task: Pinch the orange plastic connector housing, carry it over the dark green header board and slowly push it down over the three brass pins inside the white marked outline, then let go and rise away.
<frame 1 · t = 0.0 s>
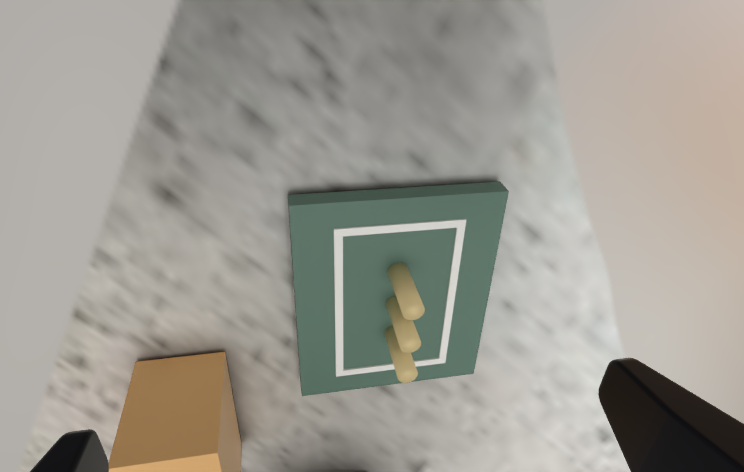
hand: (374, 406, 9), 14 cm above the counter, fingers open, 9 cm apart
header board: (391, 290, 27), on the counter
connector housing: (193, 407, 28), on the counter
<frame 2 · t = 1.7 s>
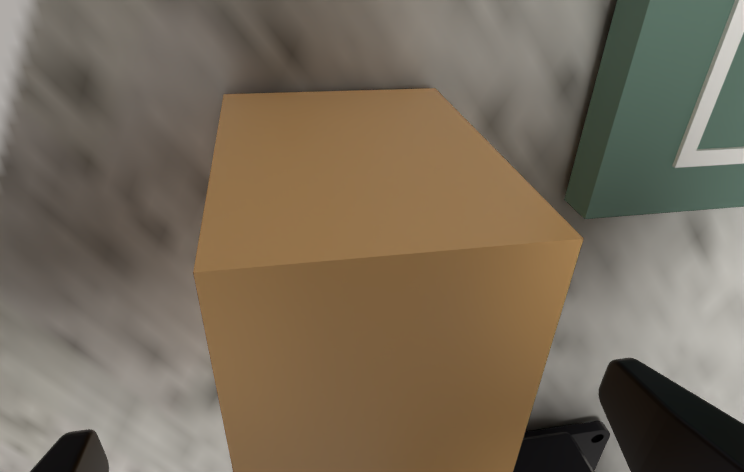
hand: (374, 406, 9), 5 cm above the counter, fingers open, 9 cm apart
connector housing: (335, 250, 13), on the counter
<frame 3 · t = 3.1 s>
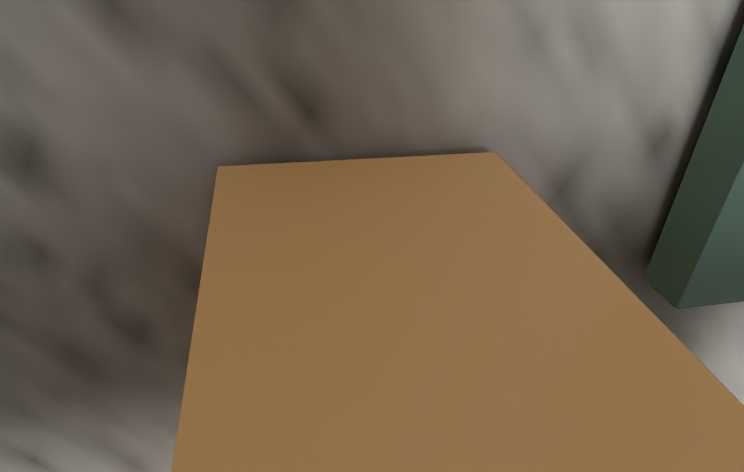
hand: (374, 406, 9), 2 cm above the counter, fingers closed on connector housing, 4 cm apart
connector housing: (359, 344, 10), on the counter, touching gripper
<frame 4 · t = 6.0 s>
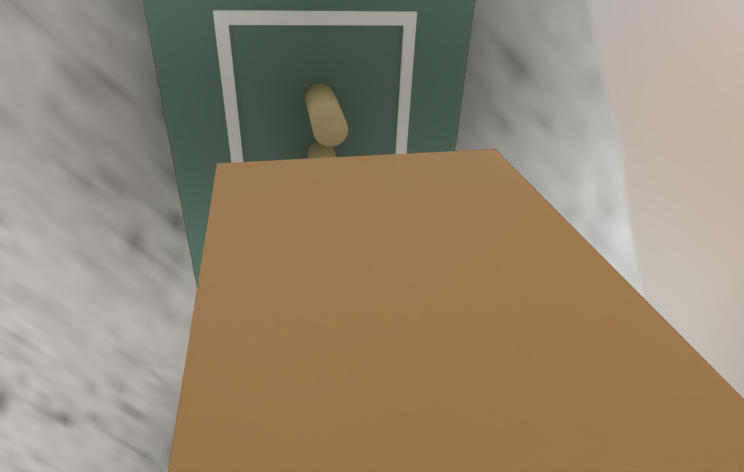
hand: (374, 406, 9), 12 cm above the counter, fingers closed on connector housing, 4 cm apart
header board: (318, 143, 19), on the counter
connector housing: (359, 343, 10), point 11 cm above the counter, touching gripper
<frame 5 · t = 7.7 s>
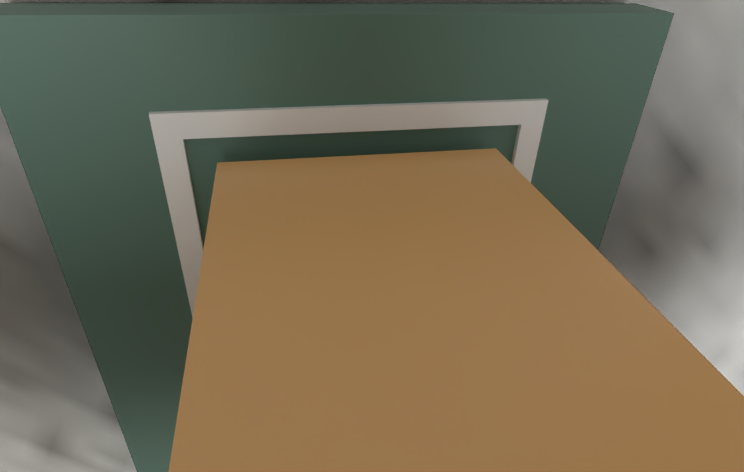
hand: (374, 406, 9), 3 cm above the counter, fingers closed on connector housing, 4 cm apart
header board: (350, 298, 11), on the counter
connector housing: (359, 342, 10), point 1 cm above the counter, touching gripper
when the fingers open (3 cm above the counter, at t = 8.8 s): connector housing stays where it is, resting on header board.
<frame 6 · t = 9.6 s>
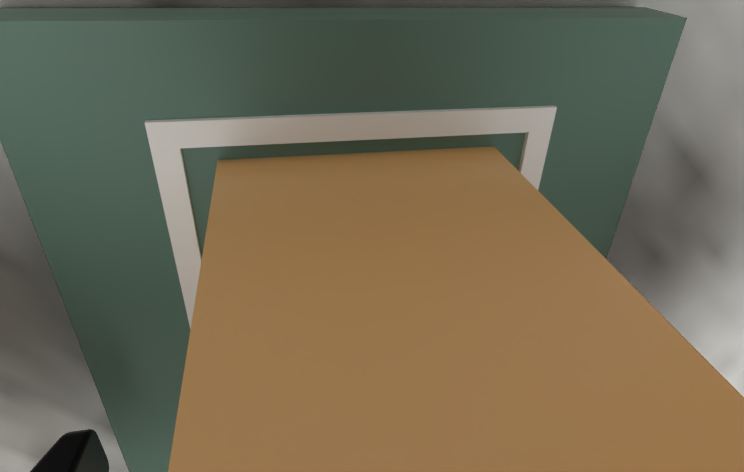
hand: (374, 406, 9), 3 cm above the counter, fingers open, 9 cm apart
header board: (352, 308, 11), on the counter
connector housing: (358, 339, 10), point 1 cm above the counter, touching header board
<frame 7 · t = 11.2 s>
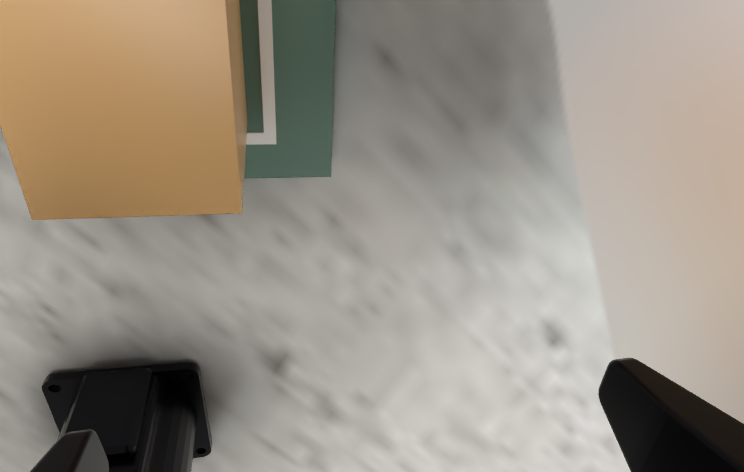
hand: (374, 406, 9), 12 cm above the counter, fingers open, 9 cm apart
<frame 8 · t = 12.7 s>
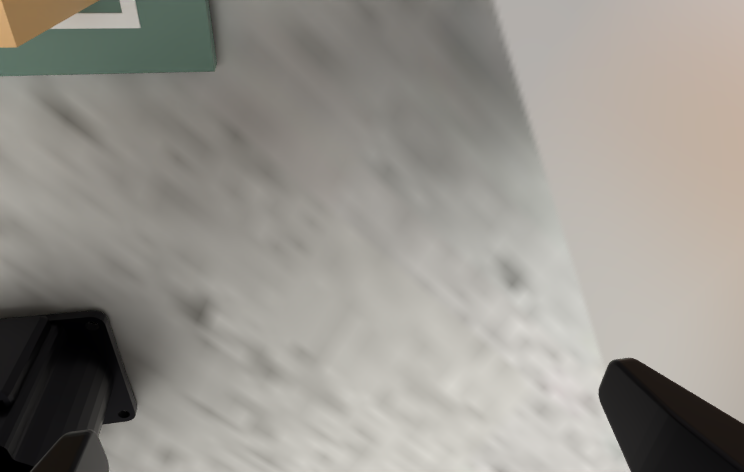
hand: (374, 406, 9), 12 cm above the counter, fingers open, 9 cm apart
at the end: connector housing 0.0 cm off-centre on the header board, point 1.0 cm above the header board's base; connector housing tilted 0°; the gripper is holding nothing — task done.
